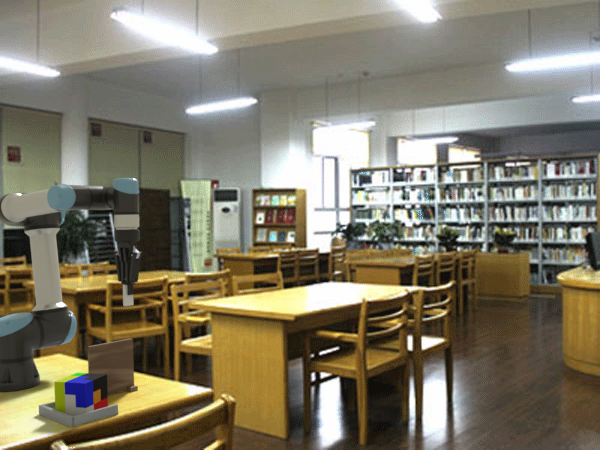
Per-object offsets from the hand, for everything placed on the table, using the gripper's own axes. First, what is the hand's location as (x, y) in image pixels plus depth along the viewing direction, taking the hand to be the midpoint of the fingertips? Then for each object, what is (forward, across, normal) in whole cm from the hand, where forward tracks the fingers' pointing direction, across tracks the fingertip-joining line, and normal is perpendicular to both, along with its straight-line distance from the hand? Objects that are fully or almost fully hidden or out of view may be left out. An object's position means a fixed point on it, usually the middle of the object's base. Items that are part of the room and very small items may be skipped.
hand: (128, 305), depth 190 cm
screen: (+28, +6, +3) cm, 29 cm away
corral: (+28, -5, +19) cm, 34 cm away
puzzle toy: (+28, -5, +18) cm, 34 cm away
